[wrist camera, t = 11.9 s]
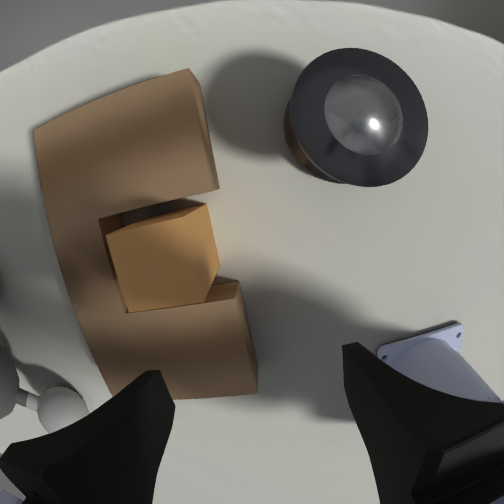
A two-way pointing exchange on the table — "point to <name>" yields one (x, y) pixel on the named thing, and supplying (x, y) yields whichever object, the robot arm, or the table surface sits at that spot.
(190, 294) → the orange rectangular block
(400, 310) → the table surface
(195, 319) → the notched board
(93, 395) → the table surface
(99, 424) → the robot arm
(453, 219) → the table surface
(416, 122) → the bobbin
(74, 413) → the molecule model
